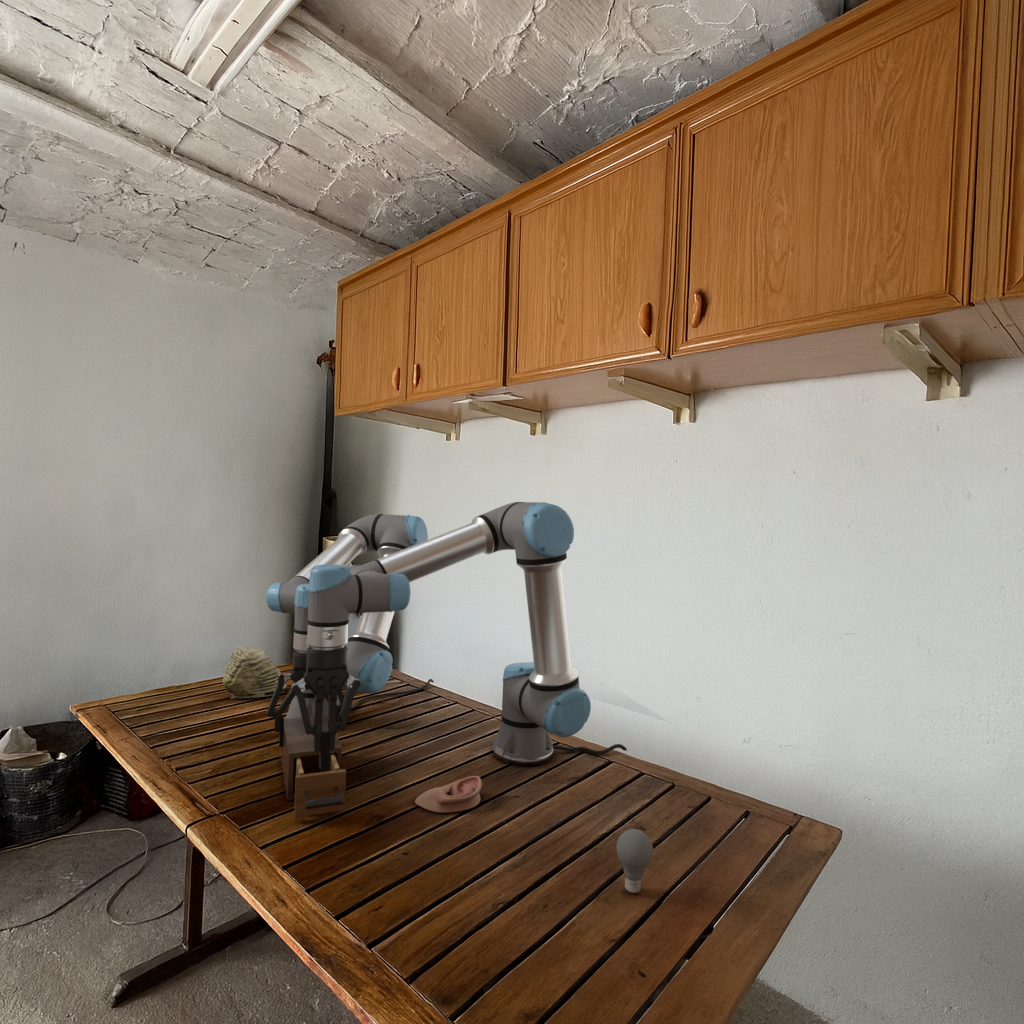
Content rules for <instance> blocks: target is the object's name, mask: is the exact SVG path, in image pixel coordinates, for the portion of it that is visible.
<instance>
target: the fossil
mask: <svg viewBox="0 0 1024 1024" xmlns="http://www.w3.org/2000/svg"><path fill="white" fill-rule="evenodd" d="M280 672H281V669H279V668H278V667H277V665H276V663H275V662H274V660H273V659H272V658H271V657H270V656H269V655H268V654H267V653H266V652H265V650H264V649H263V648H260V647H258V648H251V647H247V646H246V647H245V646H238V647H237V648H236V649H235V650H233V651H232V653H231V656H230V657H229V659H228V660H227V663H226V666H225V668H224V671H223V675H222V676H223V677H222V685H223V687H224V688H225V690H226V691H228V693H229V698H230V699H250V698H264V697H272V696H273V694H274V691H275V688H276V686H277V683H278V674H279V673H280ZM287 687H288V686H287V682H286V683H284V687H283V689H282V692H281V694H284V693H285V691H286V689H287Z"/></svg>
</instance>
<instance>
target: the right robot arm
mask: <svg viewBox="0 0 1024 1024" xmlns="http://www.w3.org/2000/svg"><path fill="white" fill-rule="evenodd" d="M572 520H573V519H572V518H571V516H570V515H569V514H568V512H567V511H565V510H564V509H563V508H562V507H561V506H559V505H557V504H554V503H553V504H552V503H549V502H545V501H542V502H540V501H539V502H538V501H537V502H536V501H533V502H530V501H514V502H509V503H506V504H504V505H502V506H499V507H496V508H494V509H491V510H489V511H487V512H485V513H482V514H480V515H477V516H475V517H473V518H472V520H471V523H469V524H465V525H463V526H460V527H458V528H454V529H452V530H449V531H447V532H444V533H442V534H439V535H437V536H434V537H432V538H428V540H426V541H424V542H421V543H419V544H416V545H413V546H411V547H408V548H406V549H403V550H400V551H398V552H395V553H393V554H390V555H387V556H385V557H382V558H380V557H379V558H377V559H375V560H372V561H369V562H367V563H364V564H353V565H347V566H346V565H337V564H336V565H333V564H324V565H317V566H314V567H313V568H312V569H311V571H310V579H309V588H308V591H309V603H308V631H307V644H308V645H309V647H308V648H307V663H306V671H305V673H304V675H303V678H302V679H301V680H299V681H298V682H297V683H296V682H292V683H291V685H290V688H291V687H292V691H293V692H294V694H295V695H296V696H297V698H298V702H299V707H300V711H301V715H302V720H303V724H304V728H305V732H306V734H312V735H314V750H315V753H317V752H319V767H320V771H323V770H329V751H333V750H334V749H335V735H336V734H337V733H339V732H342V731H345V730H346V728H347V724H348V719H349V716H350V713H351V710H352V709H351V707H352V706H353V701H354V698H355V695H356V693H357V692H356V691H357V689H358V688H359V686H360V684H361V683H360V681H359V679H358V678H354V677H352V676H350V674H349V671H348V669H347V652H348V648H347V647H346V644H347V643H348V638H349V621H350V620H349V618H350V617H349V616H350V615H351V614H353V615H354V614H362V613H370V612H392V611H395V612H397V611H404V610H405V609H407V607H409V604H410V601H411V583H412V582H414V581H417V580H419V579H422V578H425V577H426V576H429V575H431V574H434V573H436V572H439V571H442V570H443V569H447V568H449V567H451V566H454V565H456V564H459V563H461V562H464V561H466V560H468V559H471V558H473V557H476V556H478V555H480V554H484V555H491V554H494V553H496V552H500V551H507V550H508V551H511V550H512V551H513V550H514V551H515V560H516V561H515V562H516V565H517V566H518V567H519V568H520V569H522V570H523V572H524V573H523V574H524V582H525V594H526V602H527V612H528V620H529V621H528V622H529V630H530V640H531V650H532V658H533V661H530V662H529V661H523V662H514V663H510V664H507V665H506V666H505V667H504V669H503V676H502V696H501V697H502V699H501V722H500V725H499V728H498V731H497V732H496V736H495V739H494V742H493V745H492V747H493V748H492V754H493V756H494V757H495V758H496V759H497V760H499V761H501V762H503V763H506V764H509V765H513V766H520V767H522V766H523V767H531V766H532V767H533V766H539V765H544V764H546V763H548V762H549V761H551V760H552V759H553V757H554V750H560V751H565V752H579V751H580V752H581V751H583V752H587V753H589V754H593V755H604V754H608V753H610V752H612V751H613V750H616V749H621V750H623V751H628V749H627V747H626V746H625V745H623V744H621V743H615V744H612V745H611V746H609V747H607V748H605V749H602V750H595V749H591V748H590V747H585V746H575V747H568V746H563V745H557V744H553V742H552V738H551V734H552V735H555V736H557V737H560V738H568V737H572V736H574V735H576V734H577V733H579V732H580V731H581V730H582V729H583V728H584V725H585V724H586V723H587V722H588V720H589V718H590V714H591V709H592V703H591V699H590V697H589V695H588V694H587V693H586V692H585V690H584V689H581V687H580V678H579V672H578V670H577V669H576V668H574V667H573V666H572V664H571V653H570V643H569V633H568V624H567V623H568V622H567V613H566V603H565V601H566V600H565V591H564V582H563V581H564V580H563V573H562V566H563V565H564V563H565V562H566V561H567V560H568V557H567V555H568V554H567V552H568V551H569V550H570V548H571V545H572V544H573V541H574V538H575V528H574V524H573V521H572ZM346 681H347V687H348V688H347V690H345V694H344V701H343V705H342V708H341V712H340V716H339V719H338V723H336V711H337V692H339V690H340V689H341V688H342V686H343V685H344V684H345V682H346ZM305 684H307V685H308V686H309V688H310V689H311V690H312V692H313V693H314V694H315V712H314V726H312V725H311V723H310V719H309V714H308V710H307V706H306V701H305V697H304V694H303V692H304V691H305ZM326 694H328V695H329V704H328V731H324V732H322V715H323V696H324V695H326ZM350 709H351V710H350Z"/></svg>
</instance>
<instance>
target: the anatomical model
mask: <svg viewBox="0 0 1024 1024" xmlns="http://www.w3.org/2000/svg"><path fill="white" fill-rule="evenodd" d="M482 786H483V783H482V779H481V777H480V776H479V775H471V776H467V777H464V778H461V779H458V780H455V781H452V782H450V783H447V784H445V785H442V786H438V787H433V788H430V789H427V790H425V791H424V792H423V793H421V794H419V795H418V796H417V797H416V798H415V800H414V804H416V805H417V806H418V807H420V808H423V809H425V810H427V811H429V812H433V813H440V814H441V813H443V814H445V813H454V812H463V811H466V810H470V809H472V808H473V809H474V808H475V807H476V806H478V805H480V803H481V793H480V791H481V790H482Z"/></svg>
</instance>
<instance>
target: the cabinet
mask: <svg viewBox="0 0 1024 1024" xmlns="http://www.w3.org/2000/svg"><path fill="white" fill-rule="evenodd" d="M309 719H310V723H311V725H312V726H314V716H312V717H309ZM324 731H328V715H322V732H324ZM280 748H281V753H280V761H281V768H282V773H283V781H284V786H285V793H286V800H287V801H295V788H294V782H293V774H294V758H296V757H304V756H312V755H319V752H317V753H315V750H314V735H312V734H306V732H305V728H304V724H303V720H302V717H301V718H291V719H286V718H284V733H283V747H280ZM329 753H334V755H335V757H336V760H337V763H338V766H339V770H341V769H342V760H343V759H342V758H343V756H342V755H343V747H342V744H341V742H340V740H339V737H338V734H337V733H336V735H335V749H334V750H333V751H329Z"/></svg>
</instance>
